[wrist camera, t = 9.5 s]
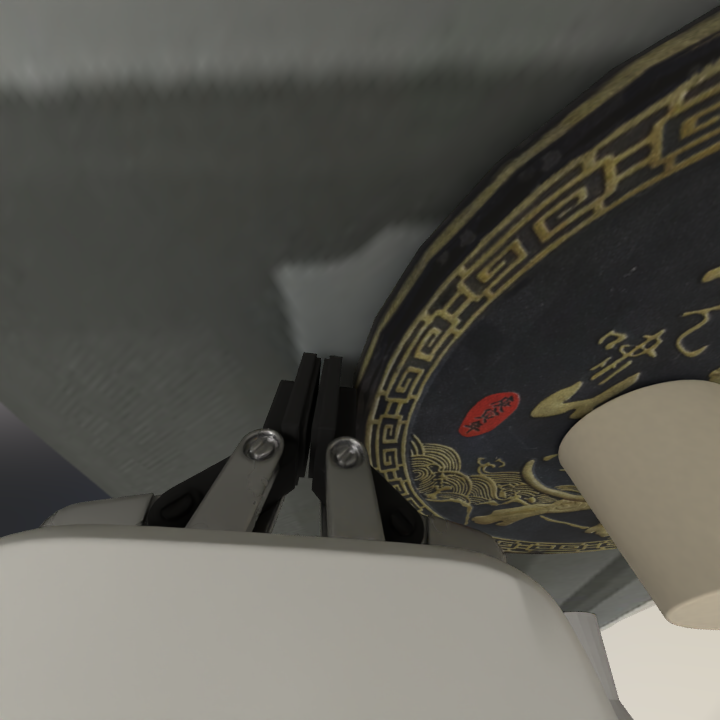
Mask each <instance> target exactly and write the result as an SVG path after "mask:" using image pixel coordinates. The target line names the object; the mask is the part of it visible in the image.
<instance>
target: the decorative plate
mask: <svg viewBox="0 0 720 720" xmlns="http://www.w3.org/2000/svg"><path fill="white" fill-rule="evenodd" d="M677 380H704V381H709V382H713V383H717V384H719V385H720V6H718V7H716V8H715V9H713V10H711V11H710V12H708V13H706V14H704V15H703V16H701V17H699V18H698V19H696V20H694V21H693V22H691V23H689V24H688V25H686V26H684V27H683V28H681V29H679V30H678V31H676V32H674V33H672V34H671V35H669V36H667V37H666V38H664V39H662V40H661V41H659V42H657V43H656V44H654V45H652V46H651V47H649V48H647V49H646V50H644V51H642V52H641V53H639V54H637V55H635V56H634V57H632V58H630V59H629V60H627V61H625V62H624V63H622V64H620V65H619V66H617V67H615V68H614V69H612V70H611V71H609V72H608V73H607V74H606V75H604V76H603V77H602V78H601V79H599V80H598V81H597V82H596V83H595V84H593V85H592V86H591V87H590V88H588V89H587V90H586V91H585V92H583V93H582V94H581V95H580V96H579V97H577V98H576V99H575V100H574V101H572V102H571V103H570V104H569V105H567V106H566V107H565V108H564V109H563V110H561V111H560V112H559V113H558V114H556V115H555V116H554V117H553V118H552V119H550V120H549V121H548V122H547V123H545V124H544V125H543V126H542V127H540V128H539V129H538V130H537V131H536V132H534V133H533V134H532V135H531V136H529V137H528V138H527V139H526V140H524V141H523V142H522V143H521V144H520V145H518V146H517V147H516V148H515V149H513V150H512V151H511V152H510V153H508V154H507V155H506V156H505V157H504V158H502V159H501V160H500V161H499V162H497V163H496V164H495V165H494V166H493V167H492V168H491V170H490V171H489V172H488V173H487V174H486V175H485V176H484V177H483V178H482V180H481V181H480V182H479V183H478V184H477V185H476V186H475V187H474V188H473V189H472V191H471V192H470V193H469V194H468V195H467V196H466V197H465V198H464V199H463V200H462V202H461V203H460V204H459V205H458V206H457V207H456V208H455V209H454V210H453V211H452V213H451V214H450V215H449V216H448V217H447V218H446V219H445V220H444V221H443V222H442V224H441V225H440V226H439V227H438V228H437V229H436V230H435V231H434V232H433V233H432V235H431V236H430V237H429V238H428V239H427V240H426V241H425V242H424V243H423V244H422V246H421V247H420V248H419V249H418V251H417V253H416V254H415V256H414V257H413V259H412V260H411V262H410V264H409V265H408V267H407V268H406V270H405V272H404V273H403V275H402V276H401V278H400V279H399V281H398V283H397V284H396V286H395V287H394V289H393V290H392V292H391V294H390V295H389V297H388V298H387V300H386V302H385V303H384V305H383V306H382V308H381V309H380V311H379V313H378V314H377V316H376V317H375V320H374V322H373V325H372V328H371V330H370V333H369V336H368V338H367V341H366V344H365V346H364V349H363V352H362V354H361V357H360V360H359V362H358V365H357V368H356V370H355V373H354V380H353V388H356V439H358V440H359V441H360V442H362V443H363V444H364V446H365V447H366V449H367V452H368V456H369V461H370V465H371V466H372V467H373V468H374V469H375V470H376V471H377V472H378V473H379V474H380V475H381V476H382V477H384V478H385V479H386V480H387V481H388V482H389V483H390V484H391V485H392V486H393V487H394V488H395V489H396V490H397V491H398V492H399V493H400V494H401V495H402V496H403V497H404V498H405V499H406V500H407V501H408V502H409V503H410V504H411V505H412V506H413V507H414V508H415V509H416V510H417V511H418V512H419V514H422V515H425V516H428V514H431V515H434V516H437V517H440V518H444V519H447V520H450V521H453V522H456V523H459V524H462V525H465V526H468V527H471V528H474V529H477V530H480V531H483V532H485V533H487V534H489V535H491V536H492V537H493V538H494V539H495V540H496V541H497V542H498V543H499V545H500V546H501V548H502V549H503V551H504V553H522V554H558V553H579V552H588V551H598V550H607V549H616V548H617V546H616V545H615V543H614V542H613V540H612V539H611V537H610V536H609V534H608V533H607V531H606V530H605V529H604V527H603V526H602V524H601V523H600V521H599V520H598V518H597V517H596V515H595V514H594V512H593V511H592V509H591V508H590V506H589V505H588V503H587V502H586V500H585V499H584V498H583V496H582V495H581V493H580V492H579V490H578V489H577V487H576V486H575V484H574V483H573V481H572V480H571V478H570V477H569V475H568V474H567V472H566V471H565V470H564V468H563V467H562V465H561V463H560V461H559V457H558V451H559V446H560V444H561V442H562V440H563V438H564V437H565V435H566V434H567V433H568V431H569V430H570V429H571V428H572V427H573V426H574V425H575V424H576V423H577V422H578V421H579V420H581V419H582V418H583V417H584V416H586V415H587V414H589V413H590V412H591V411H593V410H594V409H596V408H598V407H599V406H601V405H603V404H605V403H606V402H608V401H610V400H613V399H615V398H617V397H619V396H621V395H624V394H626V393H628V392H631V391H634V390H637V389H640V388H643V387H646V386H650V385H654V384H658V383H663V382H669V381H677Z"/></svg>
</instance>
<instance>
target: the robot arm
mask: <svg viewBox="0 0 720 720" xmlns="http://www.w3.org/2000/svg"><path fill="white" fill-rule="evenodd" d="M341 366H342V357H337V356H330V359H326V358H325V360H324V365H323V370H322V376H321V381H320V386H319V379H320V367H321V358H318V357H317V354H313V353H305V352H304V353H303V356H302V360H301V363H300V366H299V369H298V373H297V376H296V379H295V382H294V381H286V380H281V382H280V384H279V387H278V389H277V392H276V395H275V397H274V400H273V403H272V405H271V408H270V410H269V413H268V416H267V418H266V421H265V424H264V426H263V429H257V430H254V431H252V432H250V433H248V434H247V435H245V436H244V437H243V439H242V440H241V441H240V442H239V444H238V446H237V447H236V449H235V450H234V452H233V453H232V455H231V456H229V457H228V458H226V459H224V460H222V461H220V462H218V463H217V464H215V465H213V466H211V467H209V468H207V469H206V470H204V471H202V472H200V473H198V474H196V475H195V476H193V477H191V478H189V479H187V480H186V481H184V482H182V483H180V484H178V485H176V486H175V487H173V488H171V489H169V490H168V491H166V492H165V493H163V494H162V495H156V496H154V494H153V493H148V494H140V495H133V496H125V497H118V498H111V499H104V500H96V501H88V502H82V503H77V504H73V505H69V506H67V507H65V508H63V509H61V510H59V511H57V512H56V513H54V514H53V515H52V516H50V517H49V518H48V519H46V520H45V521H44V523H43V524H42V525H41V526H40V527H39V528H38V529H33V530H28V531H24V532H20V533H15V534H12V535H8V536H5V537H1V538H0V720H618V717H617V715H616V713H615V711H614V709H613V707H612V705H611V703H610V701H609V699H608V696H607V694H606V692H605V690H604V688H603V686H602V684H601V682H600V680H599V678H598V676H597V674H596V672H595V670H594V668H593V666H592V664H591V662H590V660H589V658H588V656H587V654H586V652H585V650H584V648H583V647H582V645H581V643H580V641H579V639H578V637H577V636H576V634H575V632H574V630H573V628H572V627H571V625H570V623H569V621H568V620H567V618H566V617H565V615H564V613H563V612H562V610H561V609H560V607H559V606H558V605H557V603H556V602H555V601H554V599H553V598H552V597H551V596H550V594H549V593H548V592H547V591H546V590H545V589H544V588H543V587H542V586H540V585H539V584H538V583H537V582H536V581H534V580H533V579H532V578H530V577H529V576H527V575H526V574H524V573H523V572H521V571H520V570H518V569H516V568H514V567H512V566H511V565H509V564H507V561H506V557H505V554H504V551H503V549H502V548H501V546H500V545H499V543H498V542H497V541H496V540H495V539H494V538H493V537H492V536H491V535H489V534H487V533H485V532H483V531H480V530H477V529H474V528H471V527H468V526H465V525H462V524H459V523H456V522H453V521H450V520H447V519H444V518H440V517H437V516H434V515H431V514H428V516H425V515H422V514H419V512H418V511H417V510H416V509H415V508H414V507H413V506H412V505H411V504H410V503H409V502H408V501H407V500H406V499H405V498H404V497H403V496H402V495H401V494H400V493H399V492H398V491H397V490H396V489H395V488H394V487H393V486H392V485H391V484H390V483H389V482H388V481H387V480H386V479H385V478H384V477H382V476H381V475H380V474H379V473H378V472H377V471H376V470H375V469H374V468H373V467H372V466H371V465H370V461H369V456H368V452H367V449H366V447H365V446H364V444H363V443H362V442H360V441H359V440H358V439H356V388H347V387H340V377H341ZM318 391H319V392H318ZM310 443H311V446H310ZM309 449H310V461H309V475H308V478H313V481H312V491H313V492H314V493H315V495H316V496H317V497H318V498H319V499H320V536H321V537H315V536H300V535H285V534H271V533H272V531H273V528H274V525H275V523H276V520H277V518H278V515H279V512H280V510H281V507H282V505H283V502H284V499H285V495H286V494H288V493H289V492H290V491H292V490H293V489H294V488H295V485H298V480H299V477H304V476H305V471H306V465H307V460H308V454H309Z"/></svg>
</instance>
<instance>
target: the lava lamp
mask: <svg viewBox="0 0 720 720" xmlns="http://www.w3.org/2000/svg"><path fill="white" fill-rule="evenodd" d="M564 615H565V617H566V618H567V620H568V621H569V623H570V625H571V627H572V628H573V630H574V632H575V634H576V636H577V637H578V639H579V641H580V643H581V645H582V647H583V648H584V650H585V652H586V654H587V656H588V658H589V660H590V662H591V664H592V666H593V668H594V670H595V672H596V674H597V676H598V678H599V680H600V682H601V684H602V686H603V688H604V690H605V692H606V694H607V696H608V699H609V701H610V703H611V705H612V707H613V709H614V711H615V713H616V715H617V717H618V720H633V719H632V717H631V716H630V715H629V713H628V712H627V710H626V709H625V708H624V706H623V705H622V704H621V702H620V701H619V698H618V695H617V691H616V687H615V684H614V680H613V676H612V673H611V669H610V666H609V662H608V658H607V655H606V651H605V647H604V644H603V640H602V637H601V633H600V629H599V626H598V622H597V618H596V615H595V614H592V613H587V612H564Z"/></svg>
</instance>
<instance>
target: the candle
mask: <svg viewBox="0 0 720 720" xmlns="http://www.w3.org/2000/svg"><path fill="white" fill-rule="evenodd" d="M558 457H559V461H560V463H561V465H562V467H563V468H564V470H565V471H566V472H567V474H568V475H569V477H570V478H571V480H572V481H573V483H574V484H575V486H576V487H577V489H578V490H579V492H580V493H581V495H582V496H583V498H584V499H585V500H586V502H587V503H588V505H589V506H590V508H591V509H592V511H593V512H594V514H595V515H596V517H597V518H598V520H599V521H600V523H601V524H602V526H603V527H604V529H605V530H606V531H607V533H608V534H609V536H610V537H611V539H612V540H613V542H614V543H615V545H616V546H617V548H618V549H619V551H620V552H621V554H622V555H623V557H624V558H625V559H626V561H627V562H628V564H629V565H630V567H631V568H632V570H633V571H634V573H635V574H636V576H637V577H638V579H639V580H640V582H641V583H642V585H643V586H644V588H645V589H646V590H647V592H648V593H649V595H650V596H651V598H652V599H653V601H654V602H655V604H656V605H657V607H658V608H659V610H660V611H661V613H662V614H663V615H664V617H665V618H666V620H667V621H669V622H670V623H672V624H674V625H677V626H682V627H686V628H694V629H708V630H720V385H719V384H717V383H713V382H709V381H704V380H677V381H669V382H663V383H658V384H654V385H650V386H646V387H643V388H640V389H637V390H634V391H631V392H628V393H626V394H624V395H621V396H619V397H617V398H615V399H613V400H610V401H608V402H606V403H605V404H603V405H601V406H599V407H598V408H596V409H594V410H593V411H591V412H590V413H589V414H587V415H586V416H584V417H583V418H582V419H581V420H579V421H578V422H577V423H576V424H575V425H574V426H573V427H572V428H571V429H570V430H569V431H568V433H567V434H566V435H565V437H564V438H563V440H562V442H561V444H560V446H559V451H558Z"/></svg>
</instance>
